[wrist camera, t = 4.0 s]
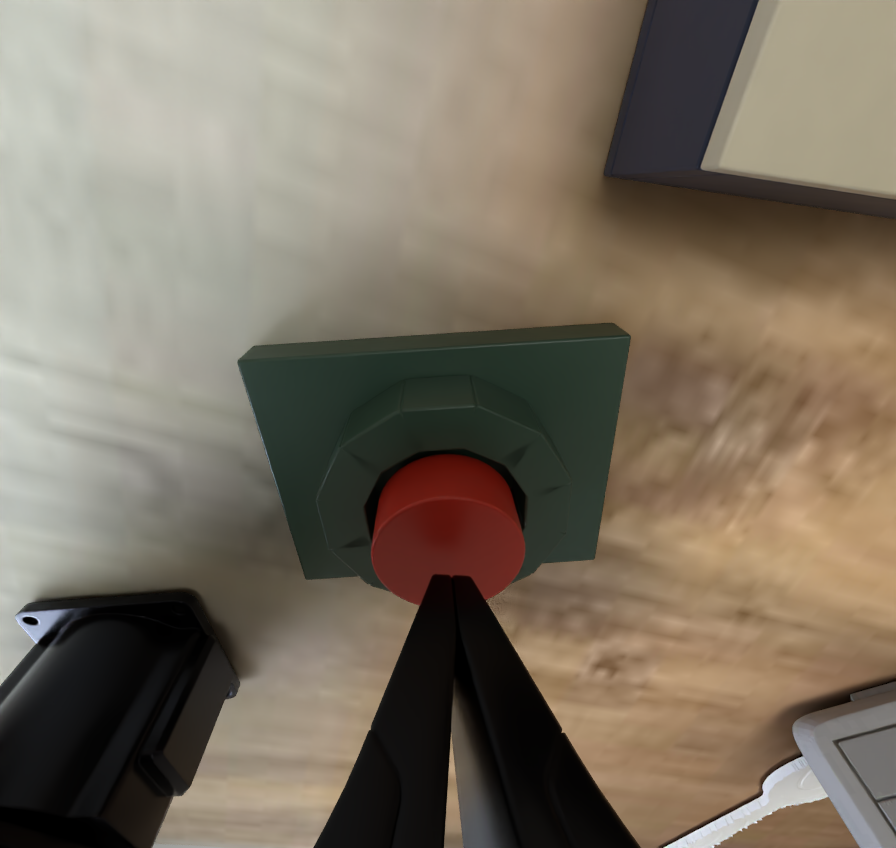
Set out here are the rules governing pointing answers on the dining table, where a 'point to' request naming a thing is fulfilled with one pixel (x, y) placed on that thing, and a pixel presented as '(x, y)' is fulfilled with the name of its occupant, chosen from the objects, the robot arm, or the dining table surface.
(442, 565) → the alarm button
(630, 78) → the dark rimmed tray
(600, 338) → the alarm box
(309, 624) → the dining table surface
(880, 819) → the digital clock
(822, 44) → the beige panel
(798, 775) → the spoon
